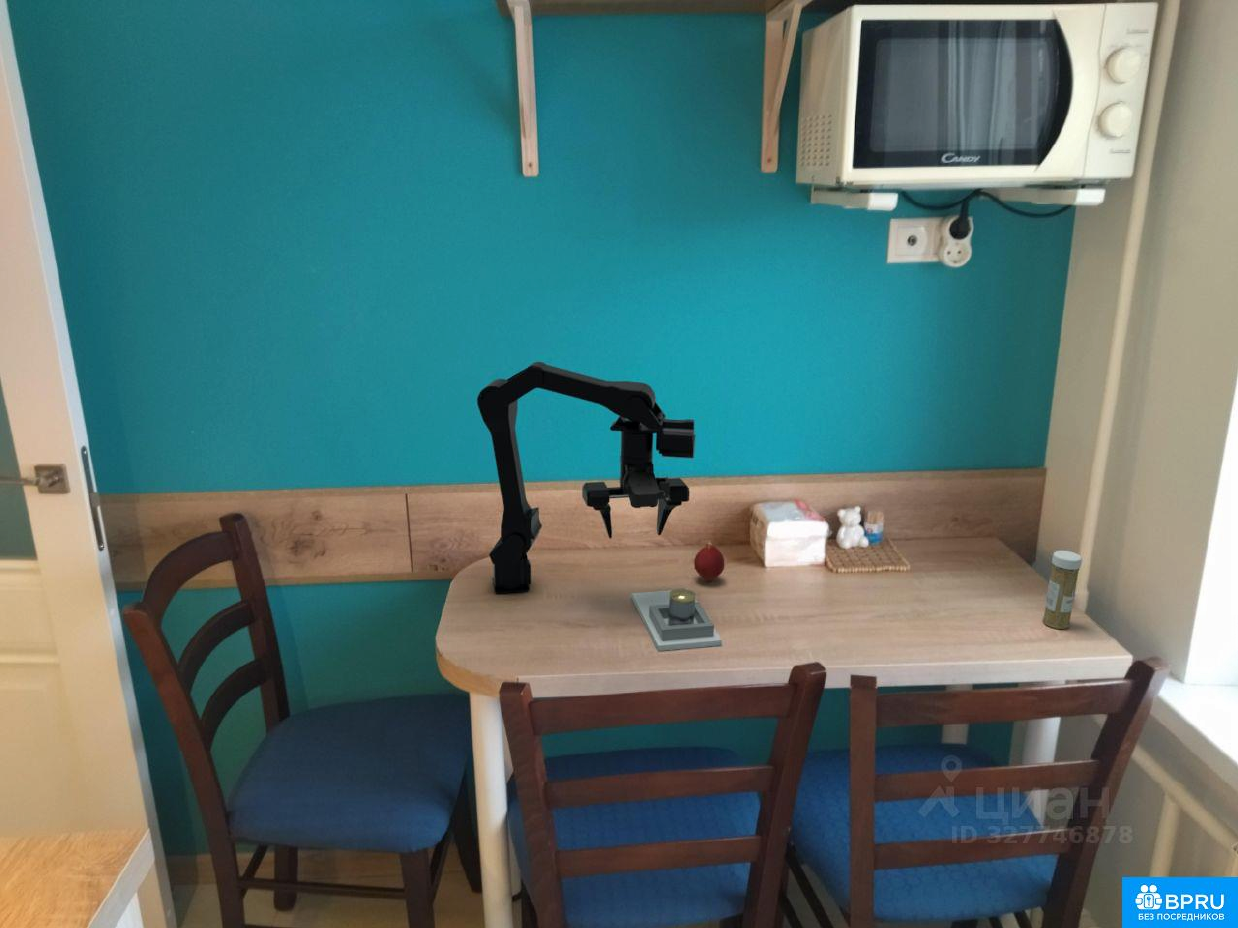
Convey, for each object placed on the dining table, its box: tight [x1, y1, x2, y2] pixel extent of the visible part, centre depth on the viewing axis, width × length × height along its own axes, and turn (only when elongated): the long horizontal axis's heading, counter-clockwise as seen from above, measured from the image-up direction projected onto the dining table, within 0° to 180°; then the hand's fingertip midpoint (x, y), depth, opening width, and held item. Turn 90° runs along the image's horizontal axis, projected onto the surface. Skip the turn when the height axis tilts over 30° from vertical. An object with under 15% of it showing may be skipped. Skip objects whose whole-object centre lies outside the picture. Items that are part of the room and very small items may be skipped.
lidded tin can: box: [668, 588, 697, 626], centre depth 158 cm, size 4×4×6 cm
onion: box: [693, 542, 725, 582], centre depth 178 cm, size 6×6×8 cm
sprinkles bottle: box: [1042, 550, 1083, 630], centre depth 163 cm, size 5×5×14 cm
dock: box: [631, 588, 723, 652], centre depth 163 cm, size 11×20×3 cm, turn 12°
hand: (634, 536), depth 169 cm, fingers open, 9 cm apart
